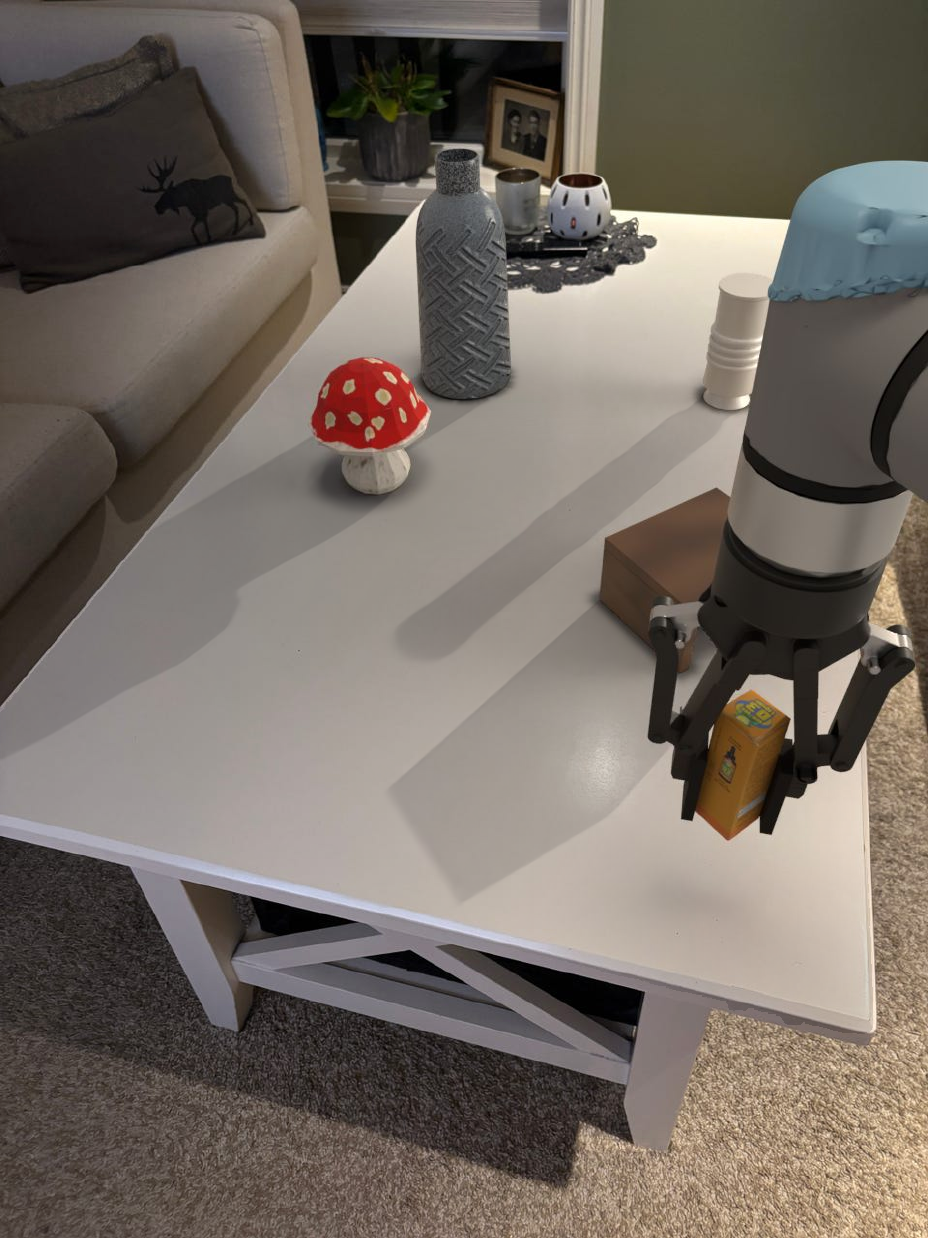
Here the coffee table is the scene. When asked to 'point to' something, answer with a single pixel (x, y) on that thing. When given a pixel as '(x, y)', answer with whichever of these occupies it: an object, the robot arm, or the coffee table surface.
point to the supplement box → (741, 763)
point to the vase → (462, 283)
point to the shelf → (664, 562)
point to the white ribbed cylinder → (736, 340)
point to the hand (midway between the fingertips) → (726, 809)
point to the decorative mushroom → (370, 422)
